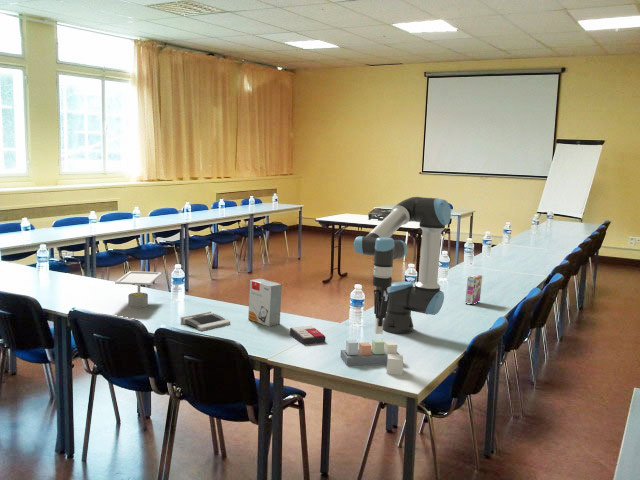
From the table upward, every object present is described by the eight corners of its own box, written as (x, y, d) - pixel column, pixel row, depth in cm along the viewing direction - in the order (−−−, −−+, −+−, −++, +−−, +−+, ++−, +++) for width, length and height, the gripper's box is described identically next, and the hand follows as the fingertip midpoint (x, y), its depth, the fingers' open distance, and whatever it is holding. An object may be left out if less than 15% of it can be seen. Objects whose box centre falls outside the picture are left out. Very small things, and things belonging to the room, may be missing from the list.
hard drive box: (247, 319, 297) (248, 280, 294) (259, 317, 302) (260, 278, 300) (268, 326, 286) (270, 285, 284) (280, 324, 292) (282, 283, 289)
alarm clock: (209, 311, 298) (230, 315, 287) (210, 320, 298) (231, 325, 287) (180, 317, 285) (201, 322, 274) (180, 326, 285) (201, 332, 274)
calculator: (303, 337, 262) (289, 326, 275) (302, 346, 262) (289, 335, 276) (326, 335, 266) (311, 324, 280) (325, 344, 267) (311, 333, 280)
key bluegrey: (355, 351, 246) (355, 339, 246) (357, 354, 243) (358, 342, 242) (345, 351, 246) (346, 339, 245) (348, 355, 242) (348, 343, 241)
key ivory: (393, 353, 250) (394, 341, 249) (396, 356, 246) (397, 345, 246) (384, 353, 249) (384, 342, 249) (387, 357, 245) (387, 345, 245)
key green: (380, 350, 249) (381, 339, 248) (383, 354, 245) (384, 342, 244) (371, 351, 248) (372, 339, 247) (374, 354, 244) (375, 342, 243)
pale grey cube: (402, 375, 232) (403, 359, 231) (386, 373, 233) (387, 358, 232) (402, 369, 238) (403, 354, 237) (386, 368, 238) (387, 353, 238)
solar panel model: (149, 312, 301) (149, 283, 298) (114, 311, 300) (114, 281, 298) (161, 299, 328) (161, 272, 326) (129, 298, 327) (129, 270, 325)
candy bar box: (473, 305, 348) (475, 277, 346) (464, 304, 351) (467, 276, 348) (480, 302, 357) (482, 275, 355) (472, 301, 360) (474, 274, 358)
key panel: (393, 355, 254) (393, 348, 253) (401, 363, 244) (402, 356, 244) (340, 356, 249) (340, 349, 248) (346, 365, 239) (347, 358, 239)
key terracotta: (367, 354, 248) (368, 342, 247) (370, 357, 244) (371, 345, 243) (358, 354, 247) (359, 342, 246) (361, 357, 243) (361, 345, 242)
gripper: (368, 272, 247) (365, 328, 251) (378, 279, 235) (374, 338, 238) (386, 273, 249) (382, 328, 252) (396, 279, 236) (392, 337, 240)
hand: (378, 333), depth 245 cm, fingers closed
